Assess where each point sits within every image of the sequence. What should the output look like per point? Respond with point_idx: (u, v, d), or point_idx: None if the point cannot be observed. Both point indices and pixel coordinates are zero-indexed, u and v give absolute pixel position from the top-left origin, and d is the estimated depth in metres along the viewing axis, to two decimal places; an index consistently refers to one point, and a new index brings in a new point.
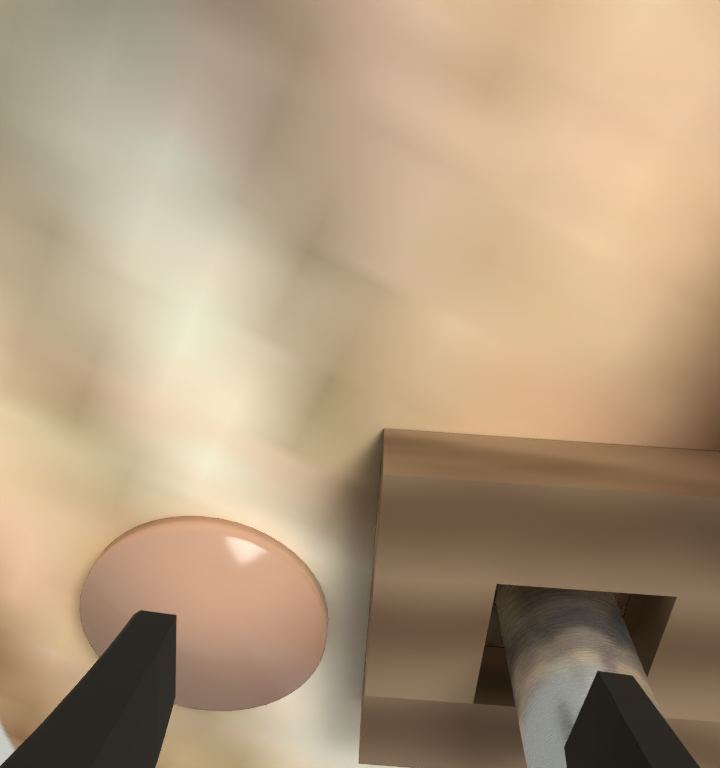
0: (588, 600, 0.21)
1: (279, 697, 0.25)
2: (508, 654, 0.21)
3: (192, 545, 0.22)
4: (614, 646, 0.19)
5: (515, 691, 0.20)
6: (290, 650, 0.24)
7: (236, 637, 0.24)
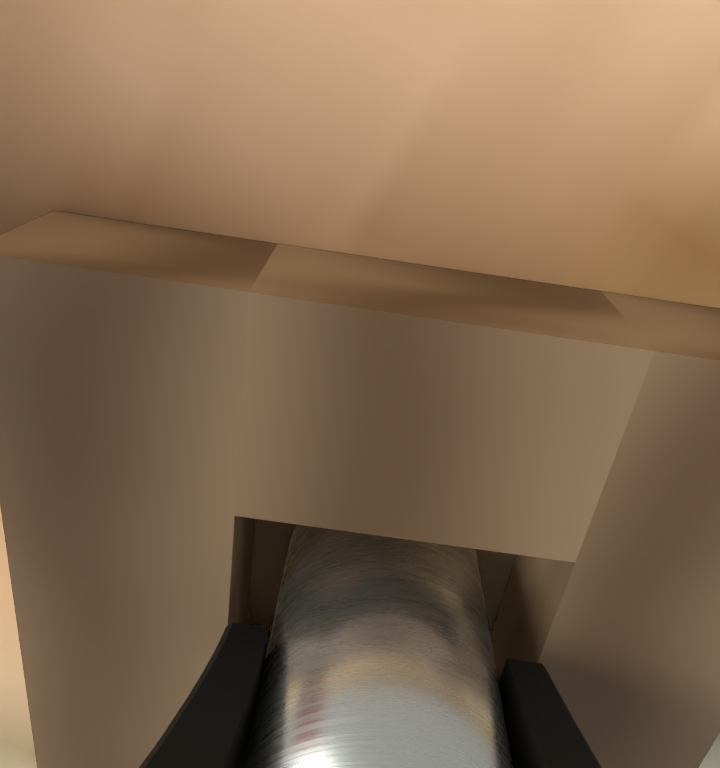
0: (274, 616, 0.12)
1: None
2: None
3: None
4: (264, 683, 0.10)
5: None
6: None
7: None
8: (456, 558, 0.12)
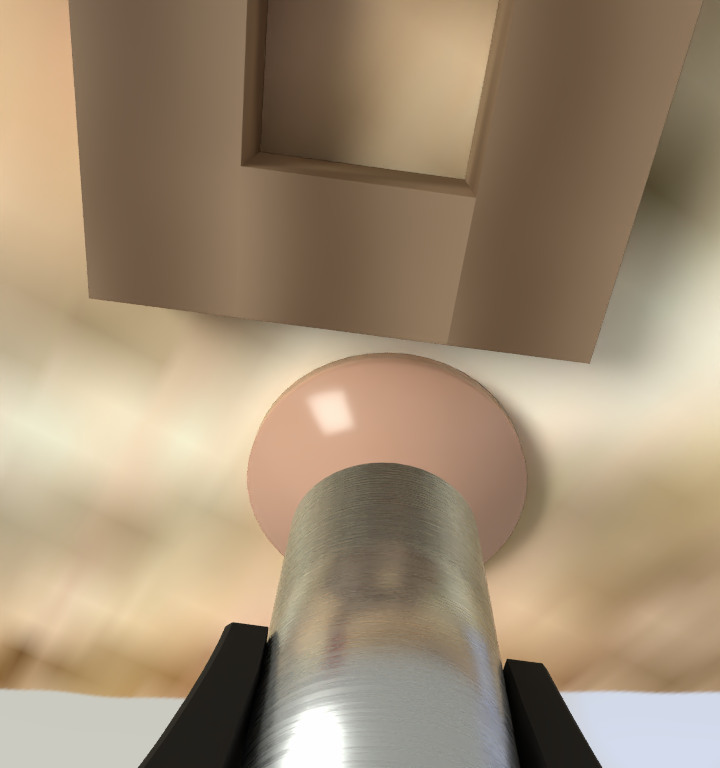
0: None
1: (513, 430, 0.20)
2: None
3: (265, 479, 0.21)
4: (267, 658, 0.10)
5: None
6: (426, 407, 0.20)
7: (401, 460, 0.21)
8: (456, 534, 0.12)
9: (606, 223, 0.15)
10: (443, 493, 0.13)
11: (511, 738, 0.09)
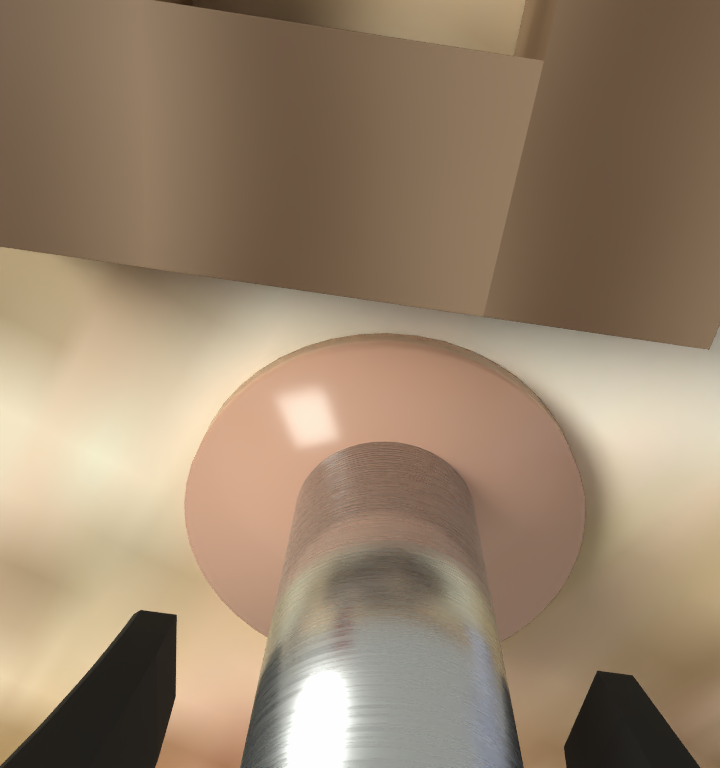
0: None
1: (569, 448, 0.14)
2: None
3: (211, 513, 0.15)
4: (275, 619, 0.11)
5: None
6: (444, 414, 0.13)
7: None
8: (453, 506, 0.13)
9: None
10: (441, 469, 0.13)
11: (504, 686, 0.10)
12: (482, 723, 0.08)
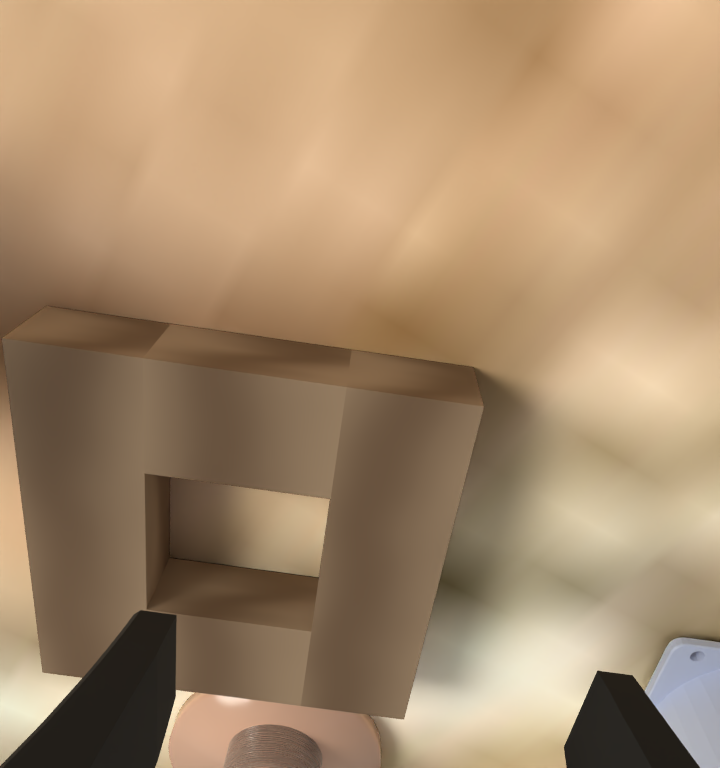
0: None
1: (366, 728, 0.26)
2: None
3: (182, 752, 0.28)
4: None
5: None
6: (300, 714, 0.26)
7: None
8: None
9: (403, 648, 0.22)
10: (299, 742, 0.26)
11: None
12: None
